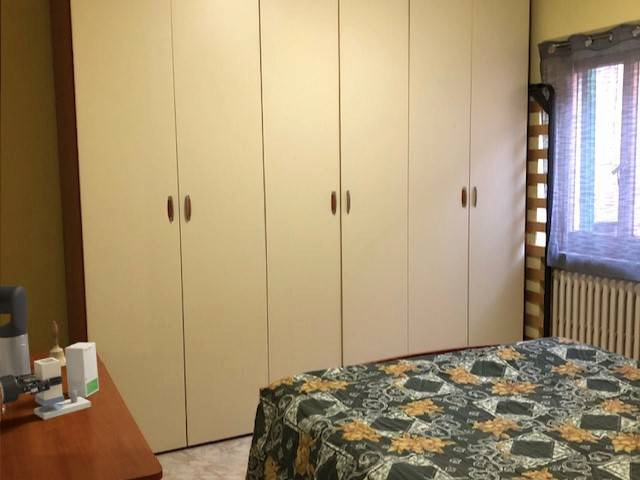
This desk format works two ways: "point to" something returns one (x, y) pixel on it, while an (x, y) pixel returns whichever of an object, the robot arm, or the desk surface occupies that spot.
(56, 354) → the hand bell
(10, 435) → the desk surface
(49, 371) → the sleeve
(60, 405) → the pin board
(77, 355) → the skincare box
